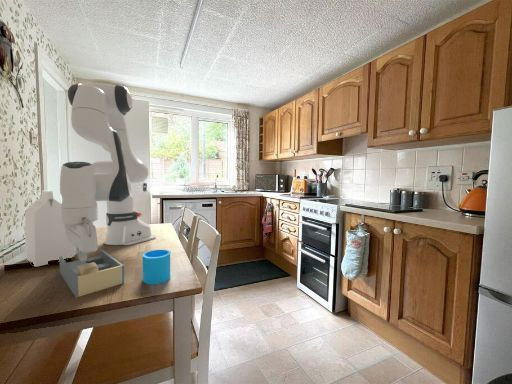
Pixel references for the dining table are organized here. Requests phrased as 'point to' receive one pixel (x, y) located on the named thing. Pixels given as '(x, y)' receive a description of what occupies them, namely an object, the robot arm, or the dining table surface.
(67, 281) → the box
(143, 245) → the dining table surface
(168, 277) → the mug
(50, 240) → the milk
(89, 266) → the block
